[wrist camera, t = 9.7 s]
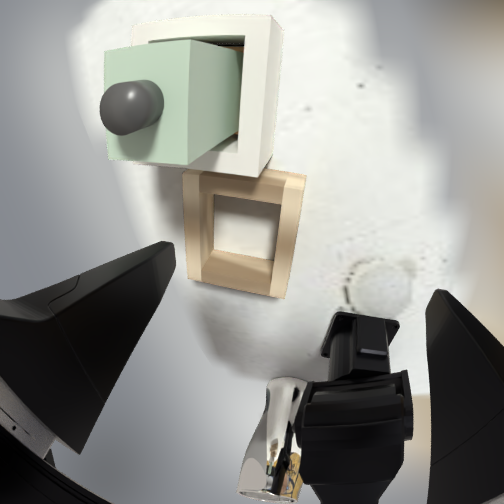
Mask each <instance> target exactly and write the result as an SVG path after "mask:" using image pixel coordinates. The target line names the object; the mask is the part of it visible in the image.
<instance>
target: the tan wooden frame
mask: <svg viewBox="0 0 504 504" xmlns="http://www.w3.org/2000/svg"><path fill="white" fill-rule="evenodd" d="M182 181H183V209H184V230H185V247H186V262H187V275H188V279H191V280H196V281H200V282H205V283H209V284H214V285H218V286H223V287H228V288H232V289H237V290H242V291H247V292H251V293H256V294H261V295H266V296H271V297H276V298H281V299H285V295H286V290H287V285H288V281H289V276H290V270H291V265H292V259H293V254H294V248H295V243H296V237H297V231H298V225H299V219H300V213H301V207H302V201H303V194H304V188H305V181H306V175H303V174H297V173H291V172H285V171H278V170H272V169H265V168H264V169H263V170H262V172H261V173H260V175H259V176H258V177H251V176H244V175H236V174H229V173H221V172H212V171H204V170H194V169H187V170H186V171H185V172H183V173H182ZM214 194H217V195H224V196H231V197H237V198H244V199H250V200H257V201H263V202H269V203H275V204H281V205H282V207H281V214H280V222H279V230H278V237H277V245H276V252H275V259H274V261H272V260H267V259H261V258H256V257H251V256H246V255H240V254H235V253H230V252H225V251H219V250H214Z"/></svg>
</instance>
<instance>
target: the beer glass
mask: <svg viewBox="0 0 504 504" xmlns="http://www.w3.org/2000/svg"><path fill="white" fill-rule="evenodd" d="M306 385H307V382H306V381H304V380H301V379H298V378H293V377H280V378H276V379H273V380H271V381H270V382H269V383H268V385H267V390H266V406H265V410H264V413H263V416H262V418H261V420H260V422H259V424H258V426H257V428H256V430H255V432H254V434H253V437H252V439H251V441H250V443H249V446H248V448H247V450H246V453H245V457H244V460H243V463H242V467H241V472H240V476H239V482H238V487H237V491H236V492H237V493H238V494H239V495H242V496H244V497H248V498H251V499H255V500H260V501H265V502H273V503H285V504H286V503H287V504H288V503H289V504H290V503H297V502H298V498H299V494H300V491H301V488H302V484H303V481H302V479H301V476H300V474H299V466H300V459H301V449H300V448H298V446H297V443H296V437H295V433H294V432H293V431H292V424H293V423H294V419H295V416H296V413H297V410H298V407H299V404H300V401H301V398H302V395H303V392H304V389H306Z"/></svg>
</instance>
